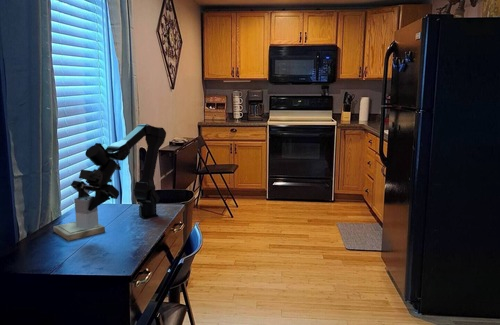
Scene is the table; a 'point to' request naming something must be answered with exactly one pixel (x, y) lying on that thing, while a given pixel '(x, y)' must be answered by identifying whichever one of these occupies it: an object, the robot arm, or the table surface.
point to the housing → (85, 212)
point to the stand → (76, 231)
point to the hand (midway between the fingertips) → (83, 209)
